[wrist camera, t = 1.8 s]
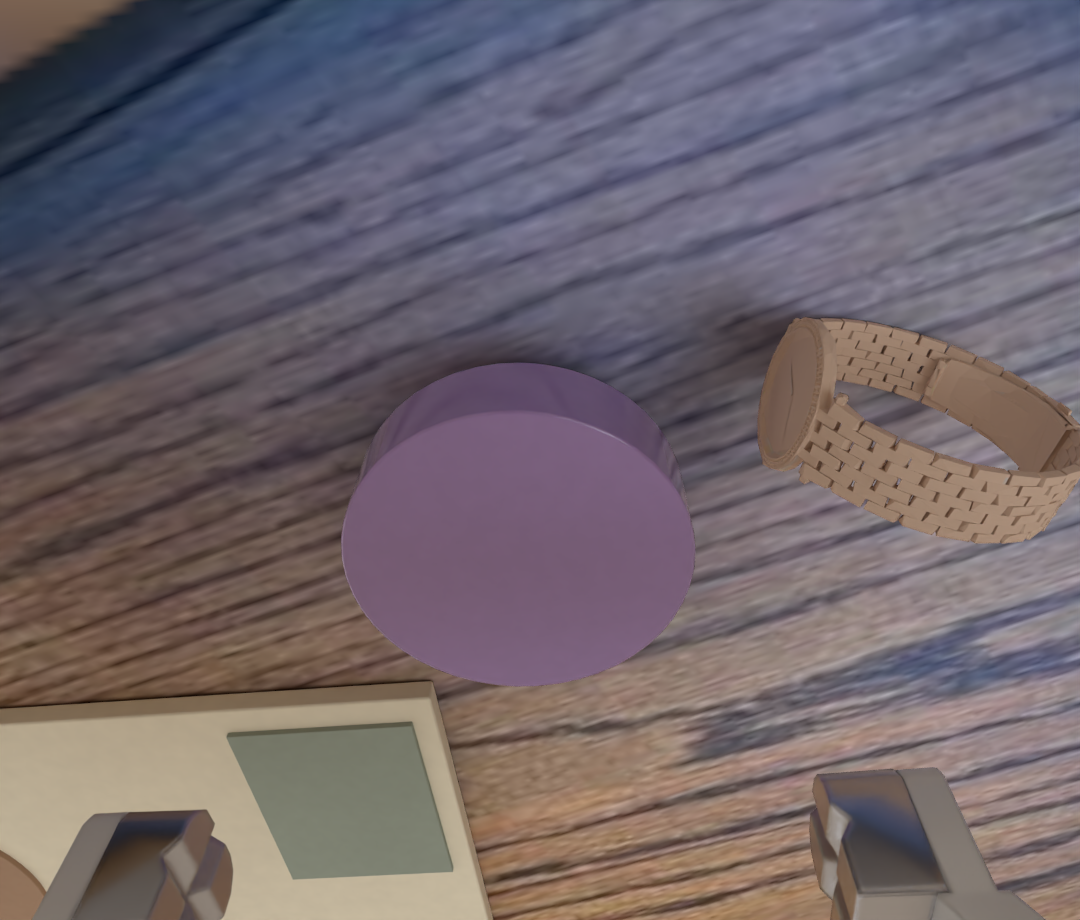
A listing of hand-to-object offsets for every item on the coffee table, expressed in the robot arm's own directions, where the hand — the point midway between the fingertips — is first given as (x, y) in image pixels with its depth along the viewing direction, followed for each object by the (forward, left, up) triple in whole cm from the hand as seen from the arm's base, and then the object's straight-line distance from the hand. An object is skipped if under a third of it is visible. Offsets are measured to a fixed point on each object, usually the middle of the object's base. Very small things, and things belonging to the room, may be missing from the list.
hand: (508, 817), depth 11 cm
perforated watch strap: (-2, +7, -8) cm, 11 cm away
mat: (+13, -14, -8) cm, 20 cm away
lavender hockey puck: (0, 0, -8) cm, 8 cm away
